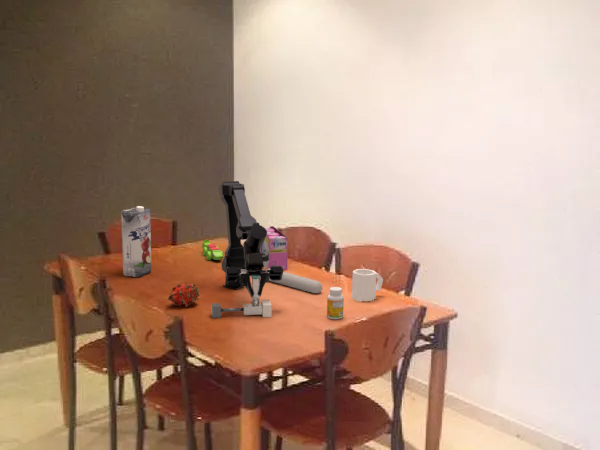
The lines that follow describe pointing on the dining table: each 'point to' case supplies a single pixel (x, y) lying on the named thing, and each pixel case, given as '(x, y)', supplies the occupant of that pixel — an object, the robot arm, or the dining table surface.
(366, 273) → the mug
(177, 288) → the dragon fruit
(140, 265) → the juice carton
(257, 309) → the tube
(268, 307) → the socket block
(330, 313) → the supplement bottle
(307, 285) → the tube
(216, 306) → the rod stand
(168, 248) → the dining table surface
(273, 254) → the gum box
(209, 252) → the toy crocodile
